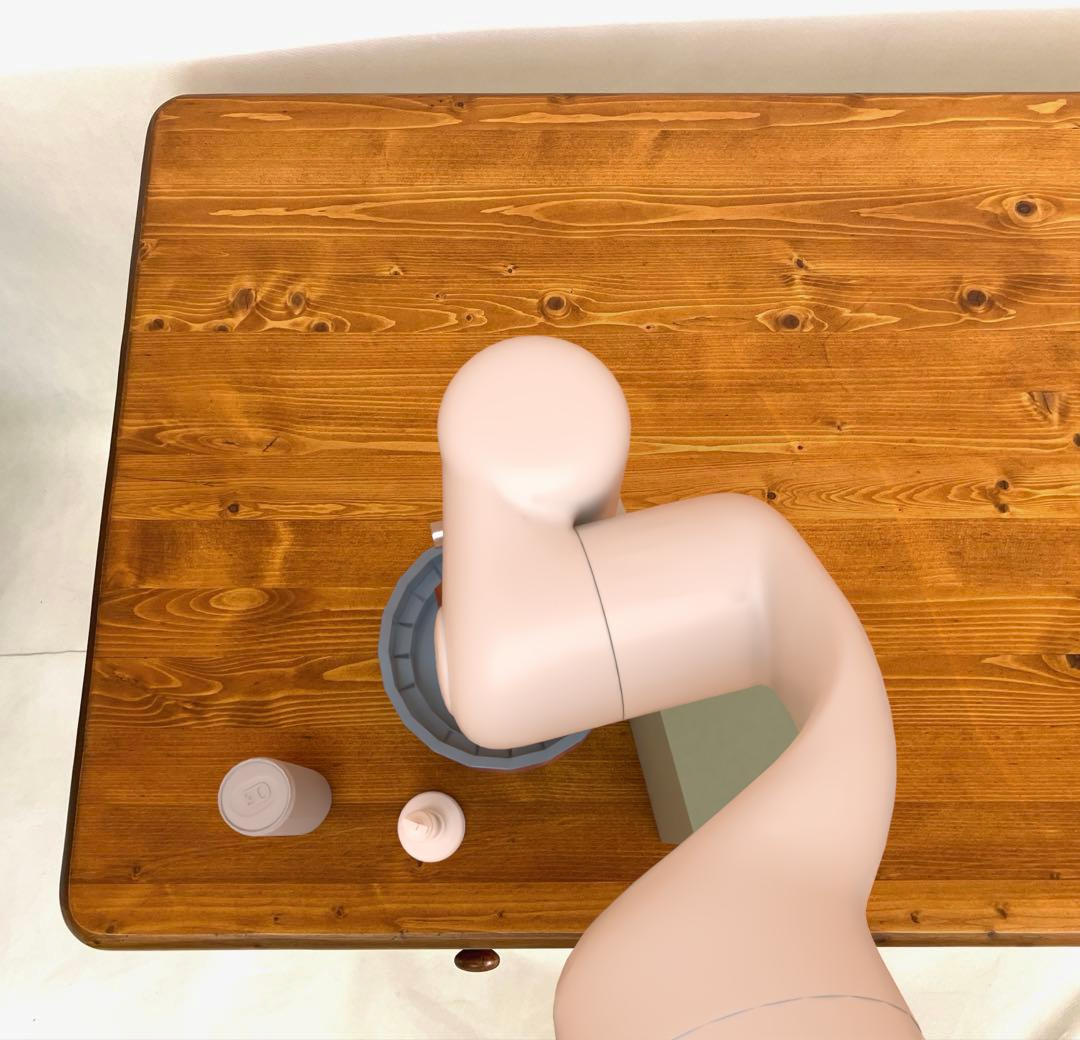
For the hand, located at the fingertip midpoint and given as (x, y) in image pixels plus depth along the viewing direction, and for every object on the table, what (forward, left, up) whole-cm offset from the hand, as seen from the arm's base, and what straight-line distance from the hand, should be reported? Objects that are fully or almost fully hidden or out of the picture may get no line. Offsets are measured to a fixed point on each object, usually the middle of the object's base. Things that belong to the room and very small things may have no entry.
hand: (541, 600), depth 65 cm
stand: (-12, -10, -11) cm, 19 cm away
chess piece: (-12, +11, -11) cm, 20 cm away
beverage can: (-8, +20, -11) cm, 25 cm away
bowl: (-1, +3, -11) cm, 12 cm away
